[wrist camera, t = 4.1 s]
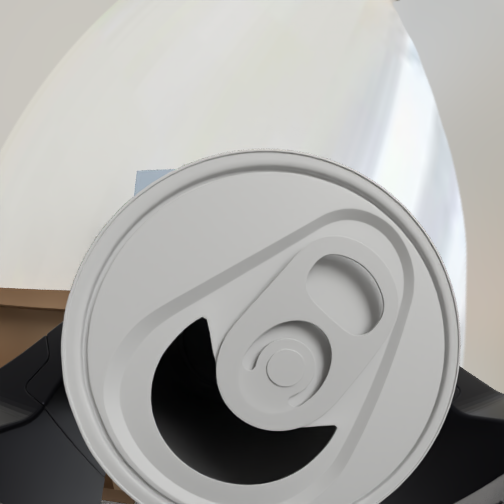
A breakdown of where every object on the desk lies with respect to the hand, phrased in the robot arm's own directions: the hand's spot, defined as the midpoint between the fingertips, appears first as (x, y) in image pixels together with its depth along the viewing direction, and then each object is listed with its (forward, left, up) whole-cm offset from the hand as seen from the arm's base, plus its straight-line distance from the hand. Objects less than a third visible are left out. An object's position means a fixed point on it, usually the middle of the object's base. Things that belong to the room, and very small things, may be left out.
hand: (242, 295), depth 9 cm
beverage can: (-1, 0, -7) cm, 7 cm away
